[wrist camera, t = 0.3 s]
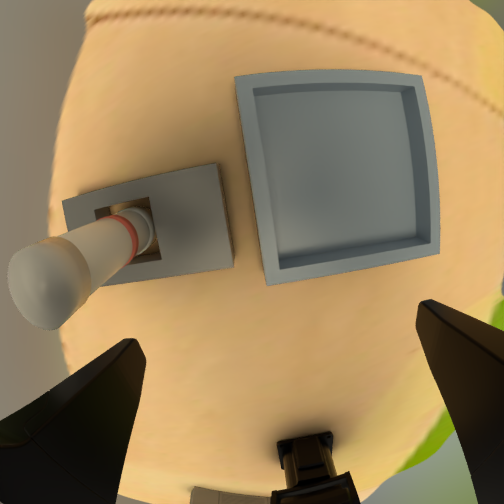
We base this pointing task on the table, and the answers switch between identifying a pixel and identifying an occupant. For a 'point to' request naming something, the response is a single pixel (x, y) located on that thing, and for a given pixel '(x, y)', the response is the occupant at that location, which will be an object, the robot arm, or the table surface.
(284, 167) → the tray
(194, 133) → the table surface
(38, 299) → the cup
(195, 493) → the cassette player
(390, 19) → the table surface
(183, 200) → the block
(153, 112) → the table surface
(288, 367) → the table surface
